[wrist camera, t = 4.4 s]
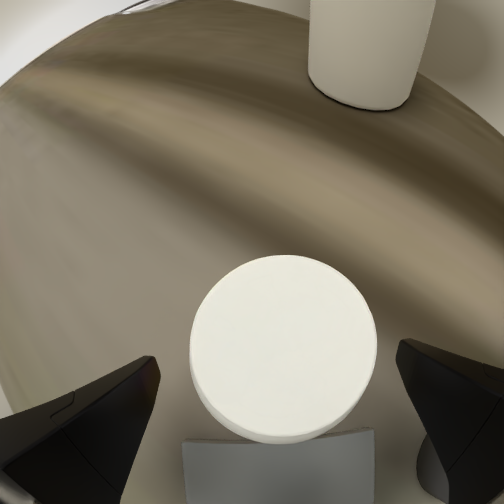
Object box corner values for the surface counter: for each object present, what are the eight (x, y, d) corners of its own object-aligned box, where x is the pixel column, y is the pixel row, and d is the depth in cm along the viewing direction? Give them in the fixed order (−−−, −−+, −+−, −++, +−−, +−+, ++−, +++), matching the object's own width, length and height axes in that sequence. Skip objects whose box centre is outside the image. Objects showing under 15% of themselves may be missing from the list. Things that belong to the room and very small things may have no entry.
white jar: (288, 86, 30) (284, -80, 12) (331, 49, 34) (338, -76, 16) (393, 129, 26) (440, -49, 8) (415, 82, 30) (447, -47, 12)
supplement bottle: (210, 343, 20) (118, 283, 8) (298, 299, 20) (325, 183, 9) (255, 432, 17) (222, 510, 5) (346, 384, 18) (452, 380, 6)
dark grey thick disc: (510, 424, 14) (534, 424, 11) (457, 507, 12) (477, 518, 9) (457, 382, 17) (482, 380, 14) (396, 475, 14) (414, 487, 11)
